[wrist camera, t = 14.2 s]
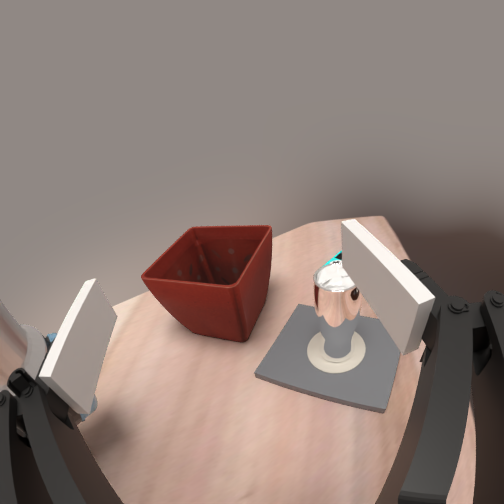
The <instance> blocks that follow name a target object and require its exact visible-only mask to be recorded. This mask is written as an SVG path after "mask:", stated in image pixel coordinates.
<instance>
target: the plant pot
mask: <svg viewBox="0 0 504 504" xmlns="http://www.w3.org/2000/svg"><path fill="white" fill-rule="evenodd" d="M271 260H272V227H271V226H268V225H257V226H256V225H254V226H253V225H252V226H251V225H250V226H201V227H192V228H190V229H188V230H187V231H186V232H185V233H184V234H183V235H182V236H181V237H180V238H179V239H178V240H177V241H176V242H175V243H174V244H173V245H172V246H171V247H169V249H167V250H166V251H165V252H164V253H163V254H162V255H161V256H160V257H159V258H158V259H157V260H156V261H155V262H154V263H153V264H152V265H151V266H150V267H149V268H148V269H147V270H146V271H145V272H144V273H143V274H142V275H141V278H142V280H143V281H144V283H145V285H146V286H147V287H148V289H149V290H150V291H151V293H152V294H153V295H154V296H155V298H156V299H157V300H158V301H159V302H160V303H161V304H162V306H163V307H164V308H165V309H166V310H167V311H168V312H169V313H170V314H171V315H172V316H173V317H174V318H176V319H177V320H178V321H179V322H180V323H181V324H183V325H184V326H185V327H186V328H187V329H189V330H190V331H192V332H193V333H196V334H200V335H205V336H211V337H216V338H221V339H227V340H232V341H238V342H244V341H246V340H247V339H248V338H249V335H250V333H251V331H252V329H253V327H254V325H255V323H256V321H257V318H258V316H259V314H260V312H261V310H262V308H263V305H264V303H265V300H266V296H267V291H268V285H269V279H270V271H271Z"/></svg>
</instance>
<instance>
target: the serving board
mask: <svg viewBox="0 0 504 504" xmlns="http://www.w3.org/2000/svg"><path fill="white" fill-rule="evenodd" d="M320 342H321V332H320V328H319V325H318V322H317V318H316V314H315V309H314V307H311V306H307V305H302V304H298V306H297V307H296V309H295V310H294V312H293V314H292V315H291V317H290V319H289V320H288V322H287V323H286V325H285V326H284V328H283V330H282V331H281V333H280V334H279V336H278V337H277V339H276V341H275V342H274V344H273V345H272V347H271V348H270V350H269V351H268V353H267V354H266V356H265V357H264V359H263V360H262V362H261V363H260V365H259V366H258V368H257V369H256V371H255V372H254V373H255V376H256V377H257V378H259V379H262V380H265V381H268V382H270V383H273V384H276V385H279V386H282V387H285V388H288V389H291V390H294V391H298V392H301V393H304V394H307V395H311V396H314V397H318V398H321V399H325V400H328V401H332V402H336V403H340V404H344V405H348V406H352V407H356V408H361V409H365V410H370V411H374V412H379V413H384V412H385V410H386V407H387V403H388V400H389V396H390V393H391V389H392V385H393V382H394V378H395V374H396V369H397V365H398V361H399V356H400V350H399V349H398V347H397V346H396V344H395V342H394V341H393V339H392V338H391V336H390V335H389V333H388V332H387V330H386V329H385V327H384V326H383V324H382V323H381V321H380V320H379V319H376V318H370V317H364V316H359V319H358V322H357V325H356V328H355V331H354V342H355V351H354V353H353V355H352V356H351V357H350V358H349V359H347V360H345V361H343V362H330V361H327V360H325V359H324V358H323V357H322V356H321V354H320V351H319V346H320Z"/></svg>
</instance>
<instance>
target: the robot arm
mask: <svg viewBox="0 0 504 504" xmlns="http://www.w3.org/2000/svg"><path fill="white" fill-rule="evenodd" d="M341 232H342V268H343V269H344V270H345V272H346V273H347V274H348V276H349V277H350V279H351V280H352V281H353V283H354V284H355V285H356V287H357V288H358V290H359V291H360V292H361V294H362V295H363V297H364V298H365V300H366V301H367V302H368V304H369V305H370V307H371V308H372V310H373V311H374V312H375V314H376V315H377V317H378V318H379V320H380V321H381V323H382V324H383V326H384V327H385V329H386V330H387V332H388V333H389V335H390V336H391V338H392V339H393V341H394V342H395V344H396V346H397V347H398V349H399V350H400V352H401V353H402V355H406V354H408V353H410V352H412V351H414V350H417V349H418V348H419V345H420V342H421V340H423V341H424V343H425V344H426V348H425V350H424V352H423V355H422V357H421V359H420V362H422V367H421V372H420V377H419V381H418V386H417V390H416V394H415V398H414V402H413V406H412V410H411V413H410V417H409V420H408V423H407V427H406V430H405V433H404V436H403V439H402V442H401V445H400V447H399V450H398V453H397V456H396V458H395V461H394V463H393V466H392V468H391V471H390V473H389V475H388V478H387V480H386V482H385V484H384V487H383V489H382V491H381V493H380V495H379V497H378V499H377V501H376V503H375V504H446V499H447V495H448V493H449V490H450V487H451V484H452V481H453V477H454V474H455V471H456V467H457V463H458V460H459V456H460V452H461V447H462V443H463V438H464V433H465V428H466V422H467V415H468V408H469V400H470V391H471V387H472V395H473V404H474V415H475V429H476V473H475V487H474V497H473V504H504V295H503V294H502V293H500V292H498V291H488V292H487V293H485V295H484V298H483V300H482V302H477V303H468V302H467V301H466V300H464V299H463V298H461V297H458V296H448V295H447V294H446V293H445V292H444V291H443V290H442V289H441V288H440V287H439V286H438V285H437V284H436V283H435V282H434V281H433V280H432V279H431V278H430V277H429V276H428V275H427V274H426V273H425V272H423V270H422V269H421V268H420V267H419V266H418V265H417V264H416V263H414V262H412V261H410V260H407V259H404V260H401V261H400V260H398V259H397V258H396V257H395V256H394V255H393V254H392V253H391V252H390V251H389V250H388V249H387V248H386V247H385V246H384V245H383V244H382V243H381V242H380V241H378V240H377V239H376V238H375V237H374V236H373V235H372V234H371V233H370V232H369V231H367V230H366V229H365V228H364V227H363V226H362V225H361V224H360V223H358V222H357V221H356V220H355V219H352V220H347V221H343V222H341ZM116 319H117V315H116V313H115V311H114V310H113V308H112V306H111V305H110V303H109V301H108V299H107V297H106V296H105V294H104V292H103V290H102V288H101V286H100V285H99V283H98V281H97V279H92V280H88V281H86V282H85V283H84V285H83V287H82V289H81V290H80V292H79V294H78V295H77V297H76V299H75V301H74V303H73V305H72V306H71V308H70V310H69V312H68V314H67V316H66V318H65V320H64V322H63V324H62V326H61V328H60V330H59V332H58V334H57V333H52V334H48V335H47V337H46V338H44V336H43V335H42V334H41V333H40V332H39V331H38V329H36V328H35V327H33V326H31V325H27V324H20V325H19V324H18V322H17V321H16V320H15V319H14V317H13V316H12V315H11V313H10V312H9V311H8V309H7V308H6V307H5V305H4V304H3V303H2V301H1V300H0V504H123V502H122V501H121V500H120V498H119V497H118V495H117V494H116V493H115V491H114V490H113V488H112V487H111V485H110V484H109V482H108V481H107V479H106V478H105V476H104V474H103V473H102V471H101V470H100V468H99V466H98V465H97V463H96V461H95V459H94V458H93V456H92V454H91V452H90V451H89V449H88V447H87V445H86V443H85V441H84V439H83V437H82V435H81V433H80V431H79V429H78V427H77V424H79V423H80V422H83V421H85V418H86V417H87V416H89V415H90V414H91V413H92V412H93V411H95V409H96V408H97V398H96V396H95V390H96V386H97V382H98V378H99V374H100V371H101V367H102V364H103V360H104V357H105V354H106V350H107V347H108V344H109V341H110V337H111V334H112V331H113V328H114V325H115V322H116Z"/></svg>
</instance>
